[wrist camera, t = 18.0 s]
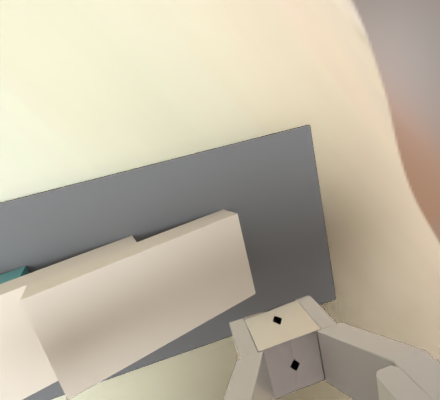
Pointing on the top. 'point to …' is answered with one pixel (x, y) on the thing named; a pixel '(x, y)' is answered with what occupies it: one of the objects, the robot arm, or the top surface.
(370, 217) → the top surface
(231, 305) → the ivory domino
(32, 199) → the slate mat
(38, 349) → the ivory domino
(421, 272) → the top surface
